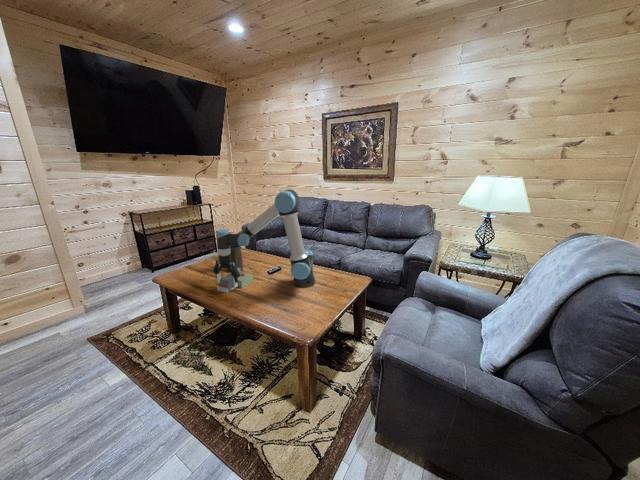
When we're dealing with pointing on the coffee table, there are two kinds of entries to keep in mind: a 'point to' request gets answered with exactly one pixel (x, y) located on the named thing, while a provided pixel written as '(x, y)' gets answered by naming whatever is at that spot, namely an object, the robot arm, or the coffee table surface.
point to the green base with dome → (242, 281)
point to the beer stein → (236, 256)
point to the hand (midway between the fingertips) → (227, 285)
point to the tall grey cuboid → (227, 282)
